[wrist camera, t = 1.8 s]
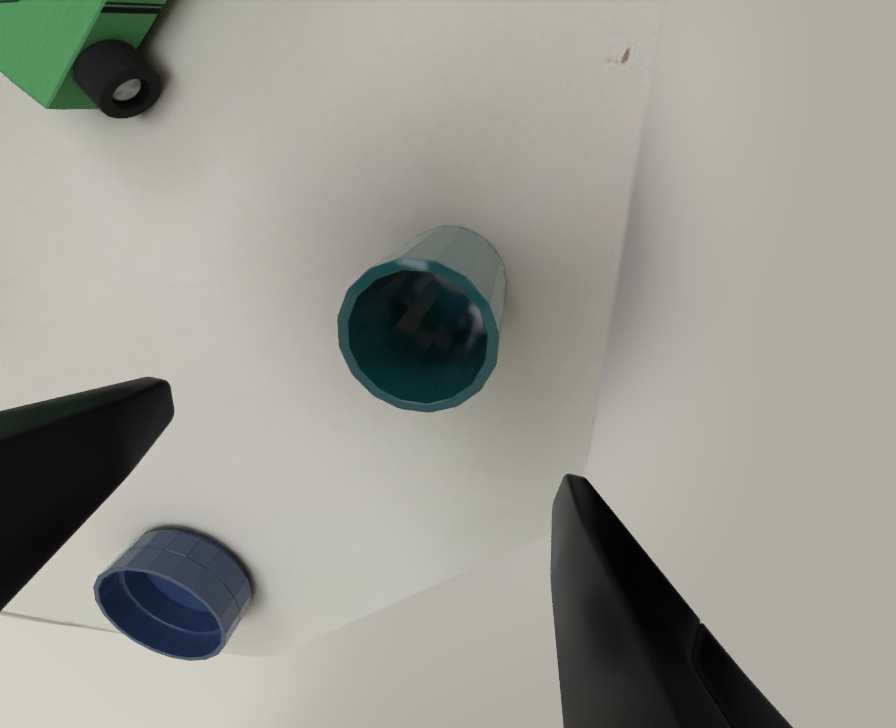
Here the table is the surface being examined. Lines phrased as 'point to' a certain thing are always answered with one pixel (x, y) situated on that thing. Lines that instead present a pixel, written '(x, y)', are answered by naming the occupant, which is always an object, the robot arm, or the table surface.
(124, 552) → the bowl
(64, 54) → the toy car
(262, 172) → the table surface
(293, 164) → the table surface
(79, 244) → the table surface
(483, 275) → the cup
